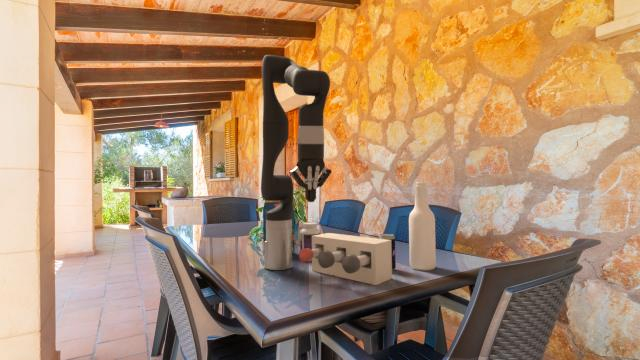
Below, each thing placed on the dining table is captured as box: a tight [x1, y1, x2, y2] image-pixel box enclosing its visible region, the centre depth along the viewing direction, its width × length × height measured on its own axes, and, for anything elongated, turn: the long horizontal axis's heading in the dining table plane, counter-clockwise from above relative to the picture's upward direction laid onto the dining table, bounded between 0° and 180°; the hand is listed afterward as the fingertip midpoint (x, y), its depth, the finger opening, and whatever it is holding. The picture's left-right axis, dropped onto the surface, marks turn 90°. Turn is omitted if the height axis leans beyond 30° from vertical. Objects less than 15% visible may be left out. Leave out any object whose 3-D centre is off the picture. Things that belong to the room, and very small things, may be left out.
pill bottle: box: [299, 221, 321, 262], centre depth 136 cm, size 8×8×14 cm
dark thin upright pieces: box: [262, 200, 296, 255], centre depth 147 cm, size 6×12×25 cm, turn 114°
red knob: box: [298, 247, 324, 263], centre depth 114 cm, size 9×4×4 cm, turn 137°
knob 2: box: [342, 254, 371, 274], centre depth 100 cm, size 9×5×5 cm, turn 137°
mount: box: [311, 232, 393, 286], centre depth 113 cm, size 9×26×12 cm, turn 47°
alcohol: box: [408, 181, 437, 272], centre depth 121 cm, size 9×9×30 cm
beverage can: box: [378, 233, 397, 272], centre depth 118 cm, size 6×6×12 cm
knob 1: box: [318, 250, 346, 268], centre depth 107 cm, size 9×5×5 cm, turn 137°
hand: (310, 201), depth 101 cm, fingers closed
